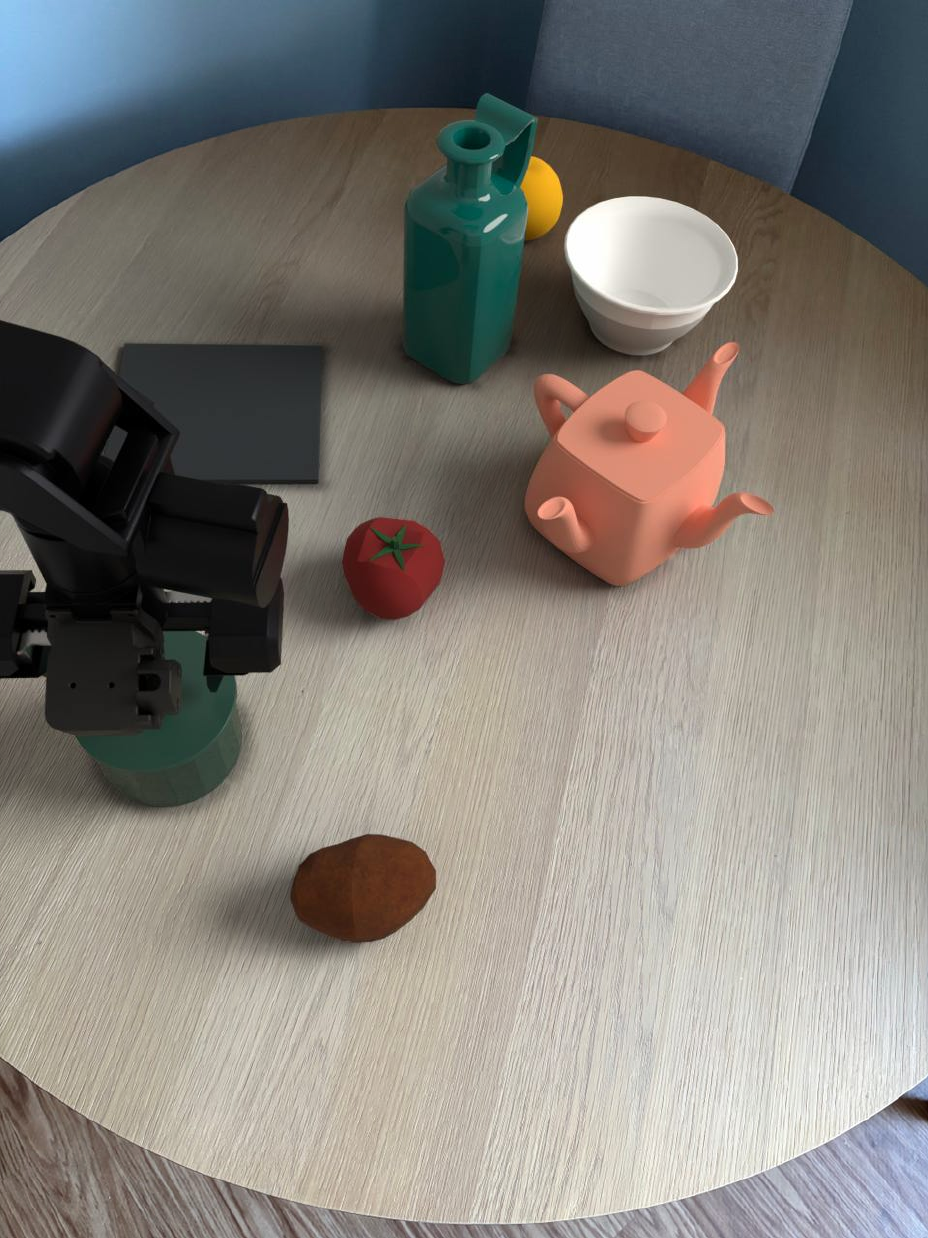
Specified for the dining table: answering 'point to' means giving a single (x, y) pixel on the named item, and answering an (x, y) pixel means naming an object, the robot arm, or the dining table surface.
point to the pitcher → (467, 243)
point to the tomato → (392, 566)
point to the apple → (541, 198)
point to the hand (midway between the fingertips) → (149, 687)
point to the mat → (233, 408)
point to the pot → (633, 471)
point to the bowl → (647, 270)
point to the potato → (362, 887)
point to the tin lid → (173, 717)
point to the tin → (183, 773)
